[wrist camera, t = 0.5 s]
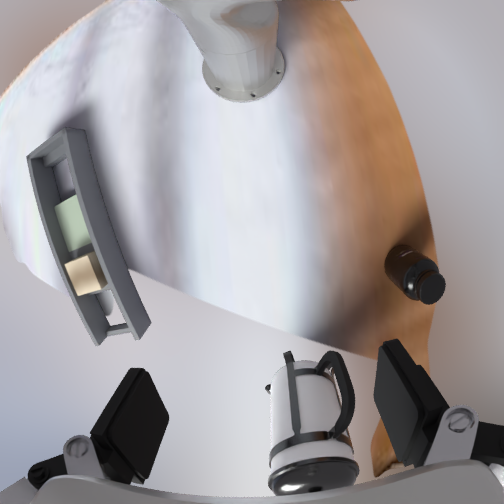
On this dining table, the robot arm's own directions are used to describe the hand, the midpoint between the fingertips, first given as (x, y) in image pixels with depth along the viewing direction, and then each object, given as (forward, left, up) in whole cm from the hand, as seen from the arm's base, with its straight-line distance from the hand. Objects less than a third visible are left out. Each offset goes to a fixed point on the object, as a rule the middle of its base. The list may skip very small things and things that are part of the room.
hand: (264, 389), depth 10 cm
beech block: (-2, -31, -32) cm, 45 cm away
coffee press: (+30, -1, -35) cm, 46 cm away
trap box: (-7, -31, -35) cm, 47 cm away
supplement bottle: (+13, +21, -35) cm, 43 cm away
